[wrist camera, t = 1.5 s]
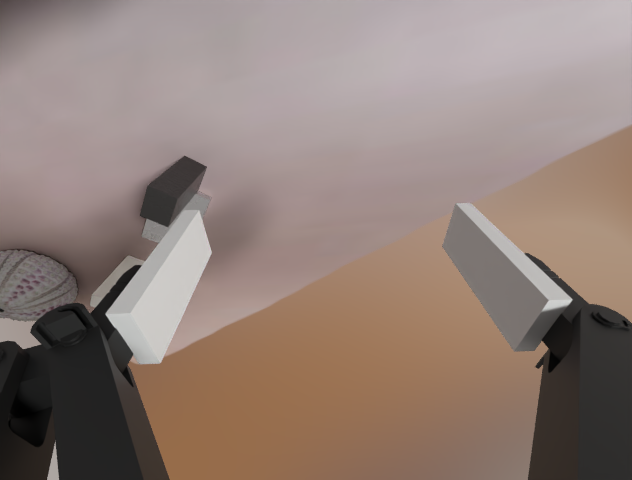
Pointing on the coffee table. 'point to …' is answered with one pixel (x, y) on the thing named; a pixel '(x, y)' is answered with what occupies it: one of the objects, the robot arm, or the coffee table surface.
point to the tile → (113, 279)
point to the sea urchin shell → (33, 285)
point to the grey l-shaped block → (173, 197)
